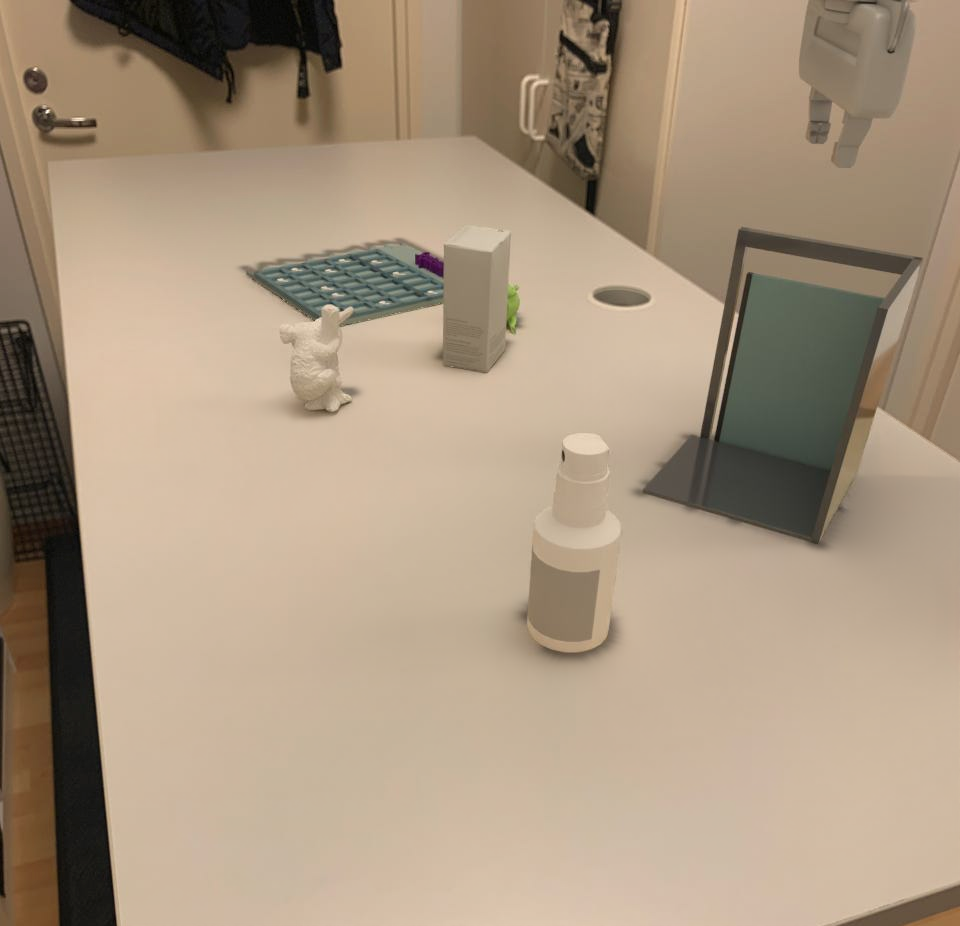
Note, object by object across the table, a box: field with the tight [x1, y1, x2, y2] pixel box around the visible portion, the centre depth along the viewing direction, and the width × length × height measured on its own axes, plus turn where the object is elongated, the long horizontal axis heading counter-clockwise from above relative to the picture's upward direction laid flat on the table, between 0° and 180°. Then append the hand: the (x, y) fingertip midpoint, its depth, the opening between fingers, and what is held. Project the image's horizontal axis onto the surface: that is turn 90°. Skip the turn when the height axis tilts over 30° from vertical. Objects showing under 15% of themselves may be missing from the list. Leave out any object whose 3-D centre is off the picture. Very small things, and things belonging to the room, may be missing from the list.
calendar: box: [245, 242, 444, 327], centre depth 145 cm, size 27×28×2 cm
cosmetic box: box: [442, 224, 512, 373], centre depth 119 cm, size 8×7×16 cm
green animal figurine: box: [506, 283, 521, 334], centre depth 132 cm, size 6×5×6 cm
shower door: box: [713, 271, 885, 471], centre depth 99 cm, size 14×6×19 cm, turn 60°
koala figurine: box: [279, 305, 354, 413], centre depth 109 cm, size 8×7×12 cm
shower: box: [642, 226, 924, 545], centre depth 91 cm, size 18×16×24 cm
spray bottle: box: [526, 432, 623, 653], centre depth 74 cm, size 7×7×18 cm
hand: (827, 153), depth 88 cm, fingers open, 8 cm apart
